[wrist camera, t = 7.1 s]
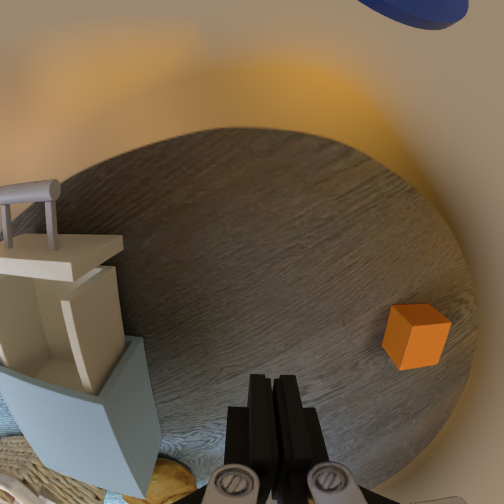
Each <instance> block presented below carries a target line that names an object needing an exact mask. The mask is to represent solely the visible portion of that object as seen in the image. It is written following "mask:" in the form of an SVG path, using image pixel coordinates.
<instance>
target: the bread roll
mask: <svg viewBox="0 0 504 504" xmlns="http://www.w3.org/2000/svg"><path fill="white" fill-rule="evenodd" d="M196 490H197V487H196V480H195V477H194V475H193V474H192V473H191V472H190V471H189V470H188V469H187V468H186V467H184V466H183V465H181V464H179V463H178V462H176V461H173V460H170V459H166V458H157V459H156V463H155V466H154V470H153V474H152V477H151V481H150V485H149V488H148V492H147V496H146V499H140V498H136V497H132V496H128V495H124V494H121V495H122V497H123V499H124V500H125V501H126V502H127V503H129V504H172V503H174V502H176V501H178V500H179V499H181V498H183V497H185V496H187V495H189V494H191V493H192V492H194V491H196Z"/></svg>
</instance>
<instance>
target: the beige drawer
mask: <svg viewBox="0 0 504 504" xmlns="http://www.w3.org/2000/svg"><path fill="white" fill-rule="evenodd" d="M60 193H61V186H60V183H59V181H58V180H56V179H53V180H43V181H35V182H27V183H19V184H12V185H6V186H1V187H0V204H1V213H2V226H3V237H4V241H2V242H0V274H1V275H0V356H1V358H2V361H3V364H4V366H5V367H6V368H8V369H11V370H13V371H16V372H19V373H21V374H24V375H27V376H30V377H33V378H35V379H38V380H41V381H44V382H48V383H51V384H54V385H57V386H61V387H64V388H67V389H71V390H75V391H78V392H82V393H86V394H90V395H94V396H98V395H99V393H100V392H101V390H102V388H103V387H104V385H105V384H106V382H107V380H108V379H109V377H110V376H111V374H112V372H113V371H114V369H115V368H116V366H117V364H118V363H119V361H120V360H121V358H122V356H123V355H124V353H125V352H126V350H127V347H126V341H125V336H124V330H123V323H122V317H121V310H120V302H119V295H118V286H117V277H116V267H115V266H101V265H100V264H102V263H103V262H105V261H106V260H108V259H109V258H111V257H113V256H114V255H116V254H117V253H119V252H120V251H122V250H123V235H90V234H58V233H57V219H56V201H55V200H57V199H58V198H59V196H60ZM41 201H46V202H45V213H46V228H47V234H22V235H19V236H16V237H13V238H12V228H11V215H10V204H15V203H27V202H41ZM3 204H4V205H3Z"/></svg>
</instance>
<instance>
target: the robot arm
mask: <svg viewBox="0 0 504 504" xmlns="http://www.w3.org/2000/svg"><path fill="white" fill-rule="evenodd" d="M270 490H271V495H272V500H277V502H278V504H400V503H397V502H395V501H393V500H390V499H388V498H385V497H383V496H381V495H379V494H376V493H374V492H372V491H370V490H368V489H365V488H363V487H361V486H359V485H358V484H357V482H356V481H355V479H354V477H353V475H352V473H351V472H350V470H349V469H348V468H347V467H346V466H344V465H343V464H340V463H338V462H332V461H329V458H328V454H327V450H326V446H325V442H324V438H323V435H322V431H321V427H320V423H319V420H318V416H317V412H316V409H315V408H314V407H312V408H303V407H302V403H301V398H300V394H299V389H298V385H297V380H296V376H295V375H280V377H279V379H274V384H273V391H272V388H271V379H270V378H265V375H262V374H250V380H249V392H248V403H247V407H231V406H228V415H227V428H226V441H225V455H224V465H223V466H220V467H218V468H217V469H216V470H214V471H213V473H212V474H211V476H210V479H209V482H208V484H206V485H205V486H203V487H201V488H200V489H198V490H196V491H194V492H192V493H191V494H189V495H187V496H185V497H183V498H181V499H179V500H178V501H176V502H174V503H172V504H266V501H267V500H268V497H269V494H270ZM410 504H467V503H466V501H465V500H464V499H463V498H461V497H458V496H452V497H447V498H442V499H436V500H430V501H423V502H415V503H410Z"/></svg>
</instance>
